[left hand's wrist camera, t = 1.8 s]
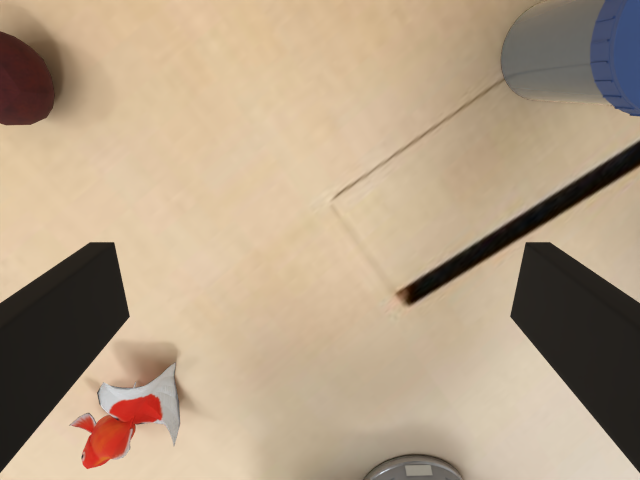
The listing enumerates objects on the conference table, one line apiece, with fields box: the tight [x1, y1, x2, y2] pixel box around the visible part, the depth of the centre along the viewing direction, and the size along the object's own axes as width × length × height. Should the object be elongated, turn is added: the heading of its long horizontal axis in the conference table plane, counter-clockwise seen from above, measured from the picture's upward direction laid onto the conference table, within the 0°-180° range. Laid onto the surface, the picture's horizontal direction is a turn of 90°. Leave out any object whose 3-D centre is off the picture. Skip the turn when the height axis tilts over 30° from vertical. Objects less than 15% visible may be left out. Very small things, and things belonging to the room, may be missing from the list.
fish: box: [70, 362, 180, 469], centre depth 46 cm, size 11×16×10 cm
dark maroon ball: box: [0, 32, 55, 125], centre depth 33 cm, size 7×8×7 cm
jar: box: [501, 0, 612, 105], centre depth 28 cm, size 8×8×15 cm
